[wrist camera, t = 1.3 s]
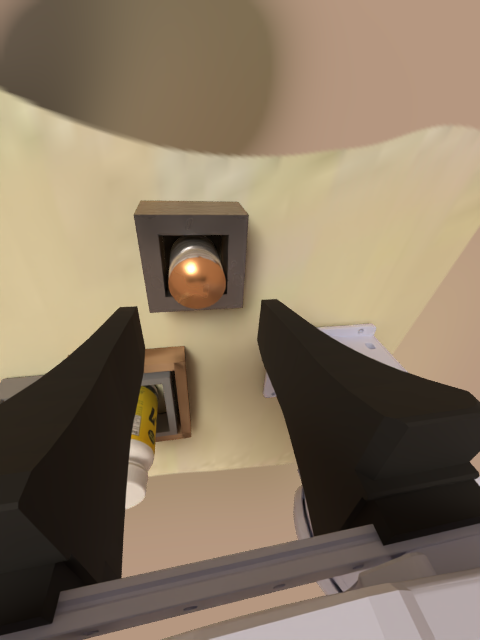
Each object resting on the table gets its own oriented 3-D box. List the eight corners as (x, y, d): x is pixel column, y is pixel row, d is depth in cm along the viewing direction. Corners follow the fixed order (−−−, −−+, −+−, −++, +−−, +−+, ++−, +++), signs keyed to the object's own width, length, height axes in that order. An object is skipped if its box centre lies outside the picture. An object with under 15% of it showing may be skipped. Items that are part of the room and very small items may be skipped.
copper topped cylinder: (217, 233, 16) (226, 257, 13) (217, 277, 17) (225, 307, 15) (167, 233, 15) (165, 258, 12) (172, 279, 17) (171, 310, 14)
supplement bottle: (155, 411, 26) (147, 512, 19) (100, 410, 24) (70, 518, 18) (162, 376, 23) (156, 477, 17) (102, 371, 22) (68, 480, 15)
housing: (184, 346, 22) (184, 361, 21) (190, 420, 28) (191, 437, 26) (68, 355, 20) (59, 372, 19) (99, 432, 26) (95, 450, 25)
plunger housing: (238, 201, 16) (248, 215, 14) (234, 285, 20) (242, 307, 17) (140, 200, 15) (133, 214, 13) (153, 288, 19) (149, 312, 16)
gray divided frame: (170, 359, 22) (168, 398, 19) (177, 415, 27) (177, 455, 23) (0, 374, 20) (-34, 420, 17) (37, 432, 24) (16, 479, 21)
